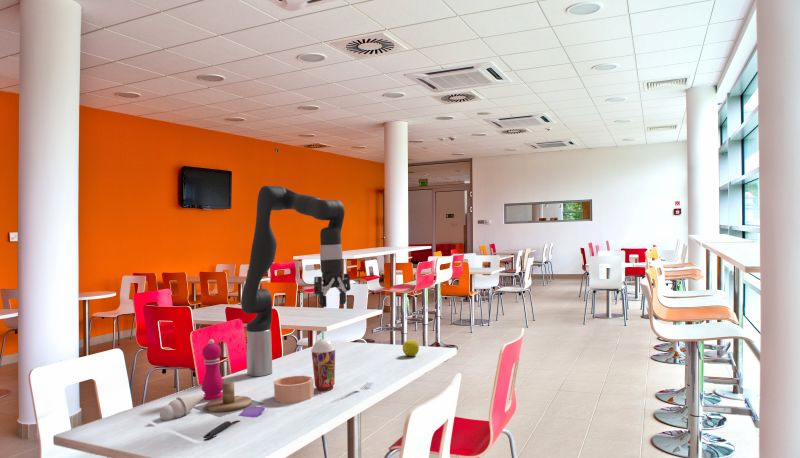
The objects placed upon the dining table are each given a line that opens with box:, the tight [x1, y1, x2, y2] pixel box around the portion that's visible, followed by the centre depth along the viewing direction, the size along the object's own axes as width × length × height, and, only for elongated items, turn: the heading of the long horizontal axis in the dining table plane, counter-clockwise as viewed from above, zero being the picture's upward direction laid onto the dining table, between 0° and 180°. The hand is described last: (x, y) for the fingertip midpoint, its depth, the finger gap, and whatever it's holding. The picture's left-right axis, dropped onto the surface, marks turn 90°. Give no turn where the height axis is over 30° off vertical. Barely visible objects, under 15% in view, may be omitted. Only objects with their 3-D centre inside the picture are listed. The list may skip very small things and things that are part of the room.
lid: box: [205, 381, 253, 412], centre depth 181 cm, size 14×14×7 cm
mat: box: [193, 399, 266, 418], centre depth 181 cm, size 16×16×1 cm
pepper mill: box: [201, 338, 225, 401], centre depth 191 cm, size 7×7×20 cm
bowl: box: [273, 375, 315, 404], centre depth 187 cm, size 12×12×6 cm
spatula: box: [203, 406, 266, 442], centre depth 163 cm, size 24×7×2 cm, turn 159°
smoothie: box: [311, 330, 336, 392], centre depth 199 cm, size 8×8×20 cm
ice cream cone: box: [159, 395, 205, 421], centre depth 174 cm, size 6×6×15 cm
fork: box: [330, 381, 374, 404], centre depth 189 cm, size 3×24×2 cm, turn 147°
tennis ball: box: [402, 339, 420, 357], centre depth 246 cm, size 7×7×7 cm
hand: (333, 305), depth 195 cm, fingers open, 8 cm apart
